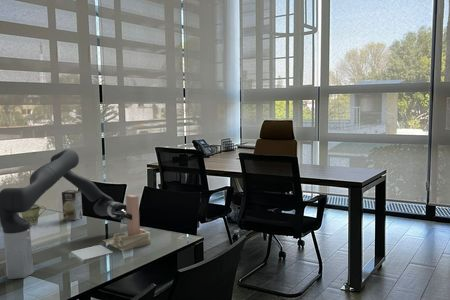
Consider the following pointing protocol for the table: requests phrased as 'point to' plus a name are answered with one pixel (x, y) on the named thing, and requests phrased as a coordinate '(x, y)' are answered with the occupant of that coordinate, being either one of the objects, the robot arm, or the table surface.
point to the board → (133, 214)
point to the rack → (132, 240)
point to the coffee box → (72, 205)
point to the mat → (90, 252)
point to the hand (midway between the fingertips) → (135, 216)
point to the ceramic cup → (32, 214)
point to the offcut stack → (118, 239)
